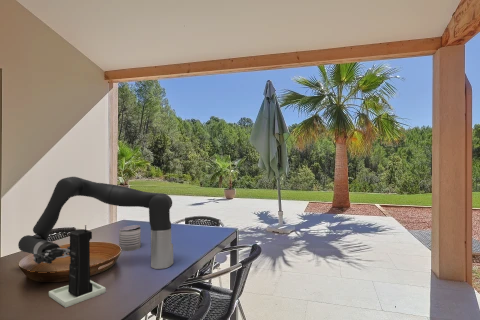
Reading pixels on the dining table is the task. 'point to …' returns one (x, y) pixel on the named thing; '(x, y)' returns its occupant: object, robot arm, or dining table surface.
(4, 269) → the dining table surface
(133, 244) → the can
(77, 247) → the portable radio
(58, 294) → the sage tray
